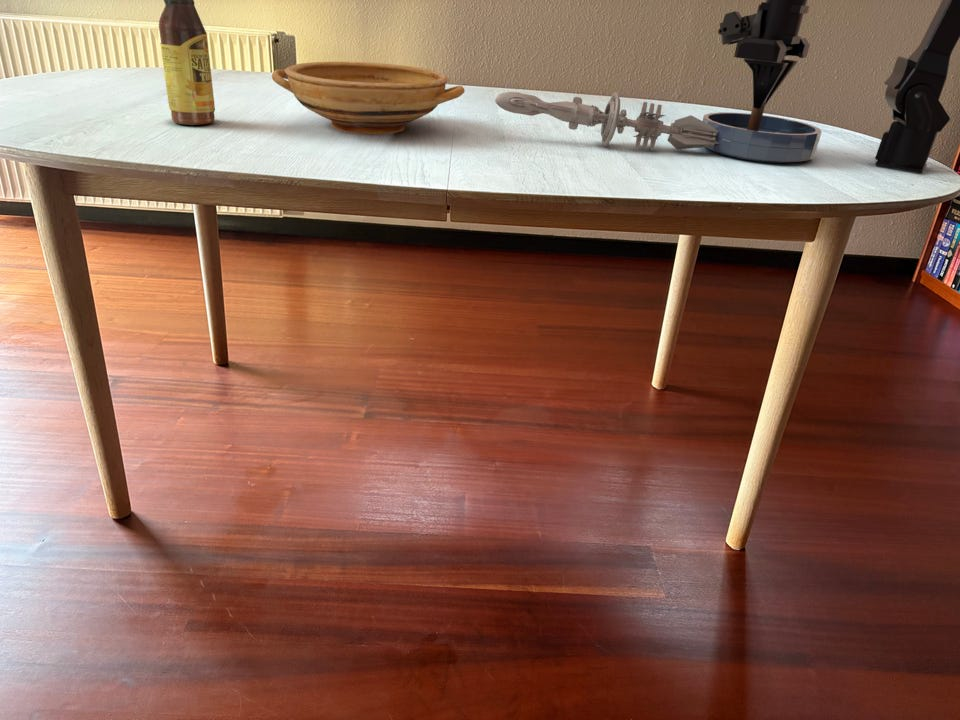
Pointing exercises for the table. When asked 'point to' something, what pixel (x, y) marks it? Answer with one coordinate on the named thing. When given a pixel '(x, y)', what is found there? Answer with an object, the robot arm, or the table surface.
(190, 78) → the sauce bottle
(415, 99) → the ceramic bowl
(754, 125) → the stirring stick
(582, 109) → the spaceship
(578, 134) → the table surface
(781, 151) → the mixing bowl
